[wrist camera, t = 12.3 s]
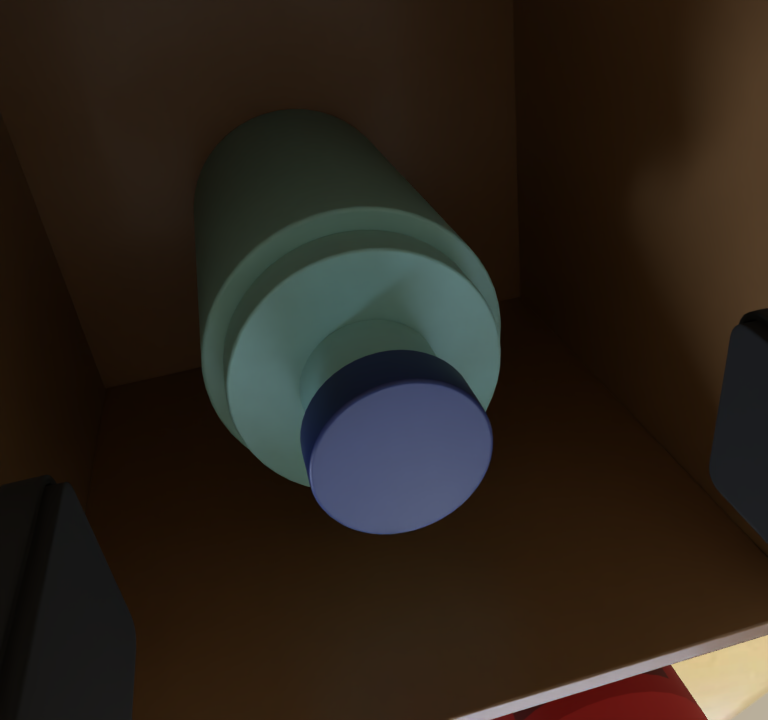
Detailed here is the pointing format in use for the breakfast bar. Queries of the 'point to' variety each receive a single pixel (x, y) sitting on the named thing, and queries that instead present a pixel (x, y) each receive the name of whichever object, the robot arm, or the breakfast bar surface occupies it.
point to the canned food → (622, 701)
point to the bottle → (343, 323)
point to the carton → (517, 340)
